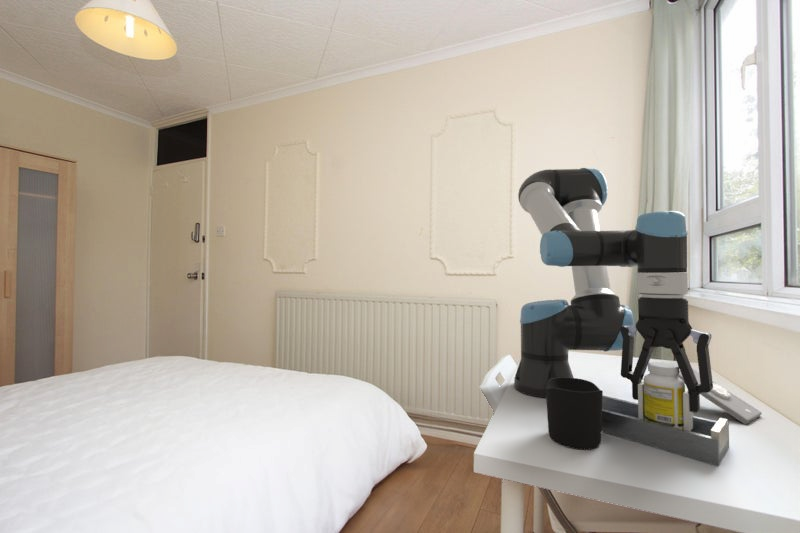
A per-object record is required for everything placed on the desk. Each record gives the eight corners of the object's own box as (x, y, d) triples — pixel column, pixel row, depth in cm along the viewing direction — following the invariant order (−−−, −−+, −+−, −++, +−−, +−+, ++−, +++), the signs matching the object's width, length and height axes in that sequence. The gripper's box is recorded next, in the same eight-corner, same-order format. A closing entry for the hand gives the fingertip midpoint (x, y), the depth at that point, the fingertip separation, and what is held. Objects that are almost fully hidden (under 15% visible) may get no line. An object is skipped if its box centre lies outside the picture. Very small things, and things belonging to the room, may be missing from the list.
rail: (581, 425, 74) (580, 400, 74) (600, 413, 80) (600, 390, 81) (718, 466, 58) (717, 433, 58) (729, 446, 65) (728, 417, 65)
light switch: (751, 417, 74) (676, 368, 85) (733, 438, 76) (662, 388, 87) (765, 409, 78) (692, 364, 89) (748, 429, 81) (679, 382, 92)
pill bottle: (670, 419, 70) (669, 360, 71) (695, 433, 64) (693, 368, 65) (637, 418, 71) (636, 360, 71) (658, 432, 64) (657, 368, 65)
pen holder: (612, 441, 67) (611, 385, 67) (588, 457, 61) (587, 395, 61) (562, 425, 74) (561, 374, 75) (536, 437, 68) (535, 383, 69)
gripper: (598, 295, 73) (600, 413, 72) (727, 299, 58) (731, 447, 58) (613, 294, 78) (615, 405, 77) (735, 297, 63) (738, 434, 63)
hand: (664, 423), depth 67 cm, fingers closed on pill bottle, 6 cm apart
